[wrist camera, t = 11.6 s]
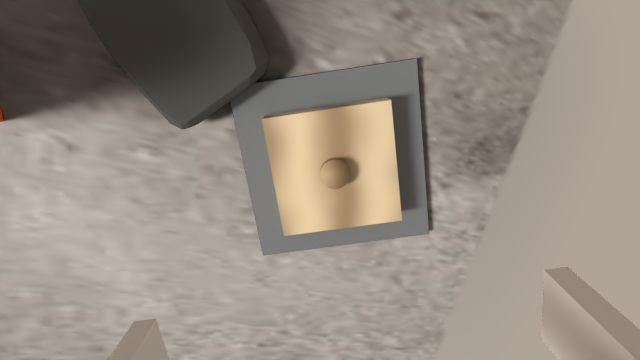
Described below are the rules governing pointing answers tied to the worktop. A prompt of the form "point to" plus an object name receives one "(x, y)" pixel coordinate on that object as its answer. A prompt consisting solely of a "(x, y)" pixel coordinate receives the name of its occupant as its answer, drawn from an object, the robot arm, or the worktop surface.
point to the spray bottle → (182, 51)
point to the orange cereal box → (0, 116)
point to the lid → (334, 166)
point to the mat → (326, 91)
